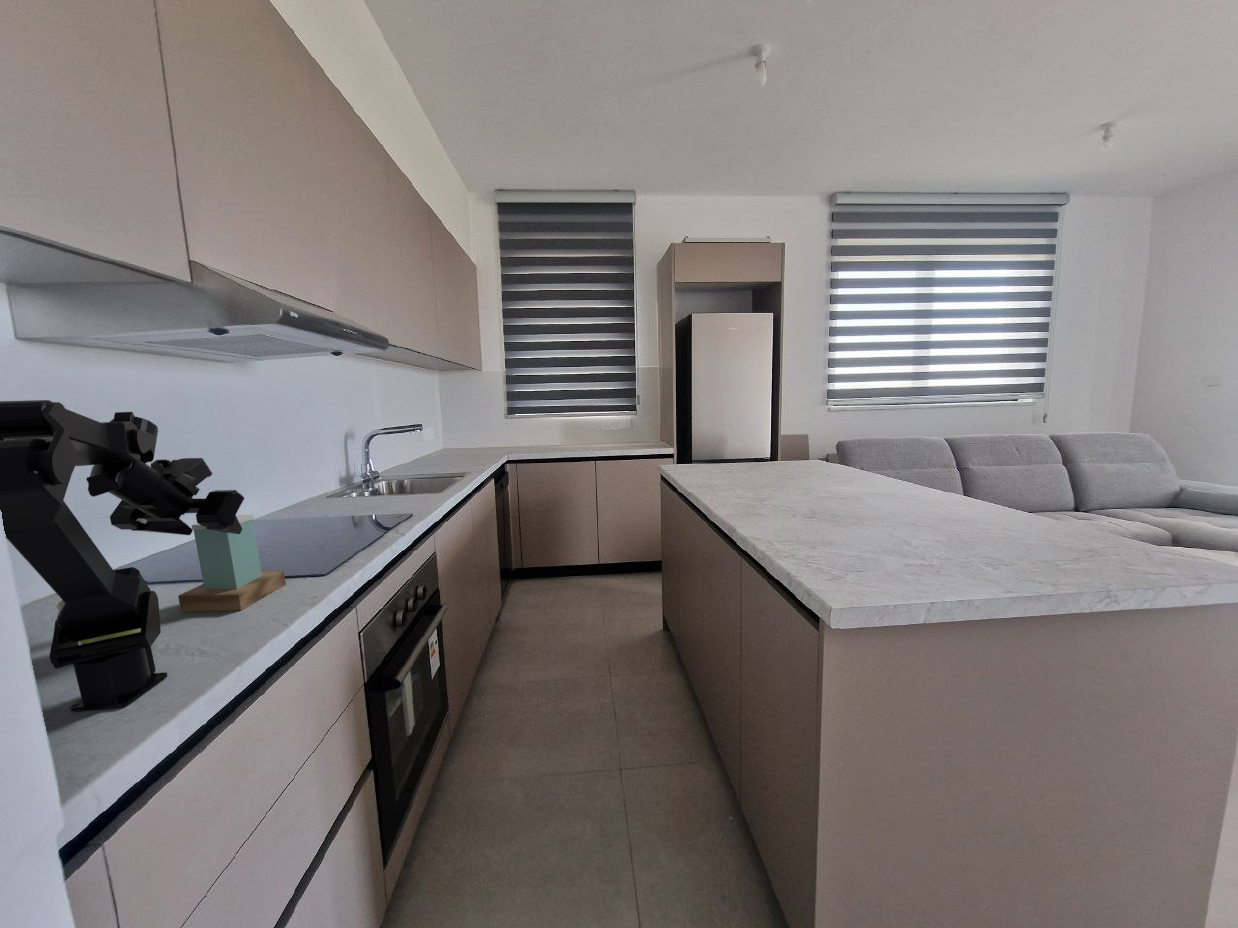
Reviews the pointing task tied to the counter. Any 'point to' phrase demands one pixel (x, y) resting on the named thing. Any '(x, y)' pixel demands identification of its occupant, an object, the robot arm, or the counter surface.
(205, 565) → the tea tin
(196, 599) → the walnut block
